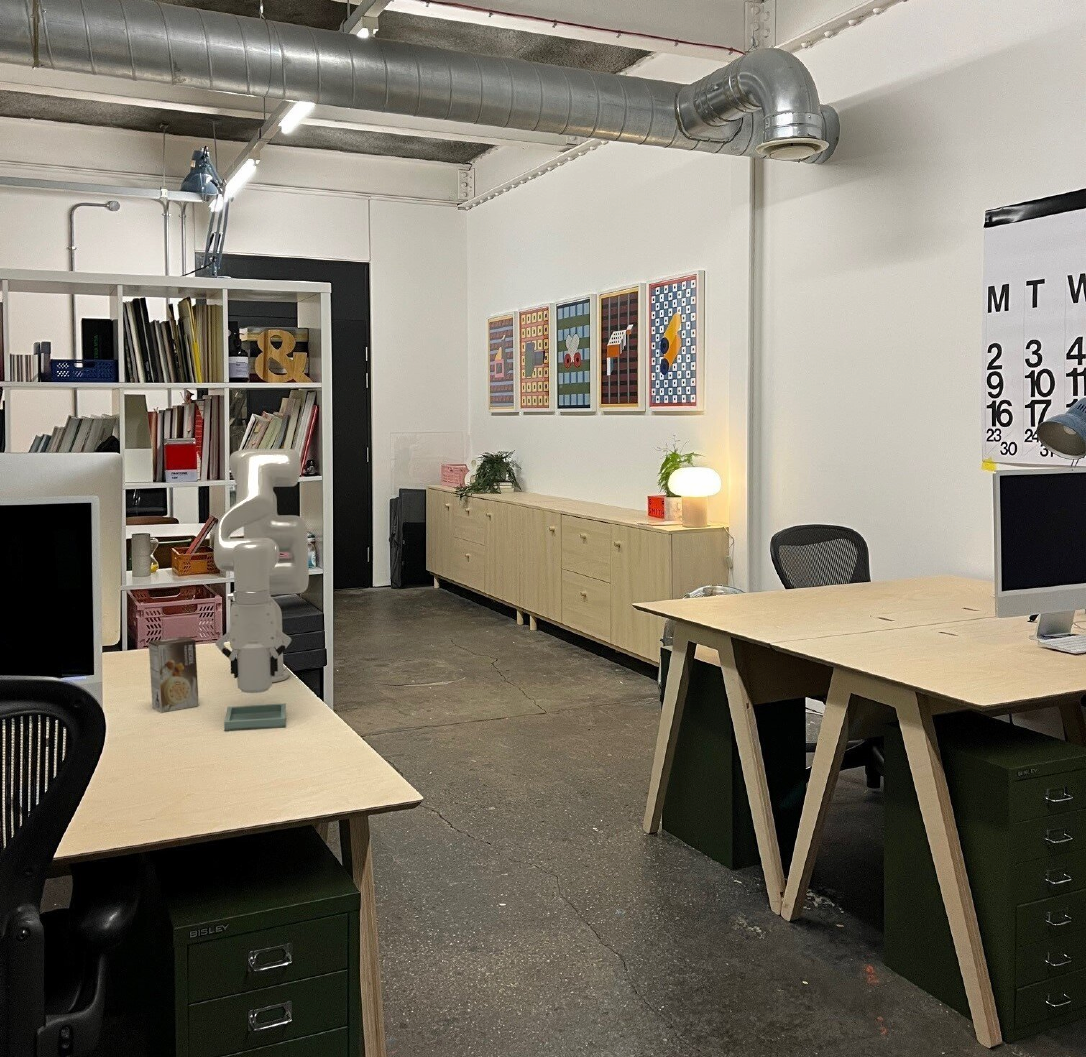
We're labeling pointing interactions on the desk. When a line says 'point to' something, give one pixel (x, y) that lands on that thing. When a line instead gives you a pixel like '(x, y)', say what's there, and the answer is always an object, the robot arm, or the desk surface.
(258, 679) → the can
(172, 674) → the coffee box
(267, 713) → the tray
